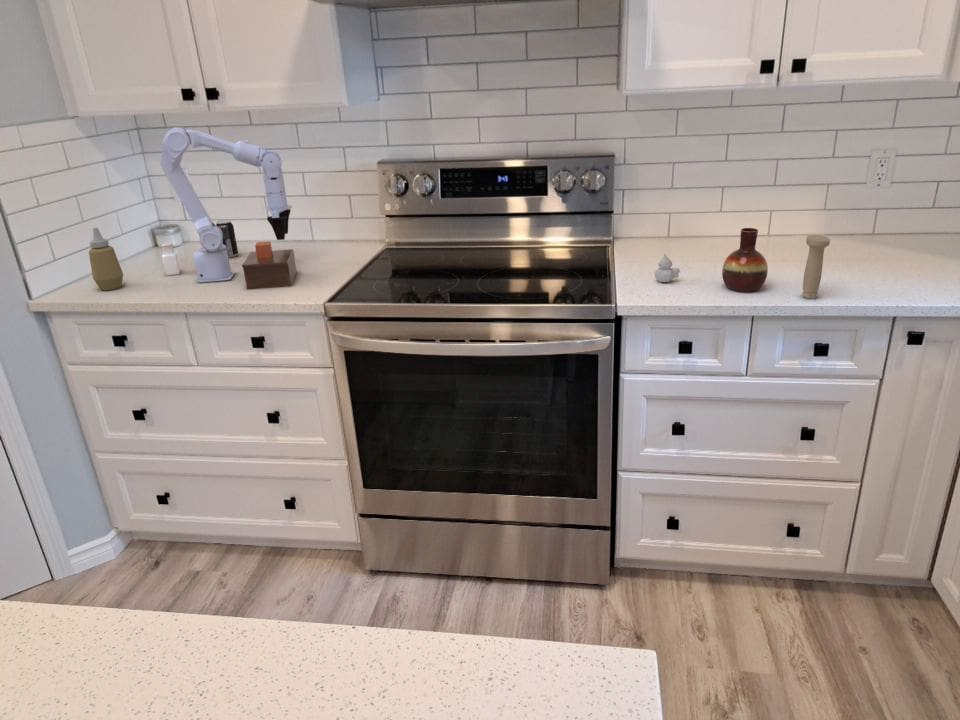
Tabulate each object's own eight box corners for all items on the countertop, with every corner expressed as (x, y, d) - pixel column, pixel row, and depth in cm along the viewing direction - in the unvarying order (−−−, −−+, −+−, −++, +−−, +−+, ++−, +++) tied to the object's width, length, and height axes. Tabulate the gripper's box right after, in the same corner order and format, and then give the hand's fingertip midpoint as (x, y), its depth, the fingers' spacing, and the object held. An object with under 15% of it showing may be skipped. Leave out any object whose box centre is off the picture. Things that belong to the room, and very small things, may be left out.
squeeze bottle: (118, 282, 211) (103, 223, 204) (131, 286, 207) (115, 226, 199) (91, 289, 206) (74, 229, 198) (103, 293, 201) (86, 232, 194)
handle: (815, 293, 176) (824, 234, 170) (823, 301, 170) (833, 241, 164) (795, 293, 176) (803, 235, 170) (802, 301, 170) (812, 241, 164)
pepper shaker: (180, 271, 220) (174, 241, 216) (179, 274, 216) (173, 244, 213) (167, 272, 219) (160, 243, 215) (166, 276, 215) (159, 246, 211)
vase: (713, 289, 181) (719, 231, 175) (731, 279, 189) (737, 222, 183) (755, 297, 175) (762, 237, 168) (771, 286, 182) (779, 228, 176)
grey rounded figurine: (653, 278, 192) (655, 250, 189) (677, 278, 191) (680, 250, 188) (654, 284, 187) (656, 255, 184) (679, 284, 186) (682, 256, 183)
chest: (291, 285, 200) (287, 263, 198) (247, 289, 199) (242, 266, 196) (296, 272, 213) (293, 251, 210) (255, 275, 211) (251, 254, 209)
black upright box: (230, 253, 238) (223, 218, 233) (242, 254, 236) (236, 219, 231) (217, 257, 233) (210, 222, 229) (229, 259, 231) (222, 223, 226)
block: (257, 259, 201) (255, 245, 199) (258, 255, 204) (256, 242, 203) (271, 257, 201) (269, 244, 200) (272, 254, 205) (270, 241, 203)
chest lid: (287, 263, 197) (287, 261, 197) (242, 267, 196) (241, 265, 195) (293, 250, 210) (293, 249, 210) (251, 254, 209) (250, 252, 208)
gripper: (286, 195, 201) (293, 241, 206) (292, 187, 214) (298, 230, 219) (261, 196, 200) (268, 243, 206) (268, 188, 213) (275, 231, 219)
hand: (282, 236), depth 212 cm, fingers open, 7 cm apart
